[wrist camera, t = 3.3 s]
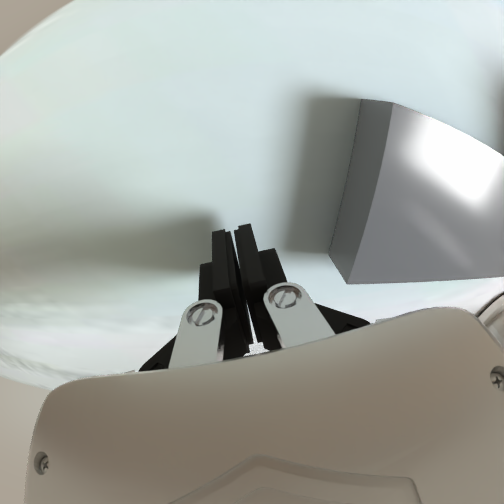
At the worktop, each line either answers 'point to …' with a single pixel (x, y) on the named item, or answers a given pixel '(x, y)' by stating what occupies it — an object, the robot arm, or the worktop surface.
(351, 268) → the board
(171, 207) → the worktop surface
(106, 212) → the worktop surface
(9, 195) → the worktop surface
